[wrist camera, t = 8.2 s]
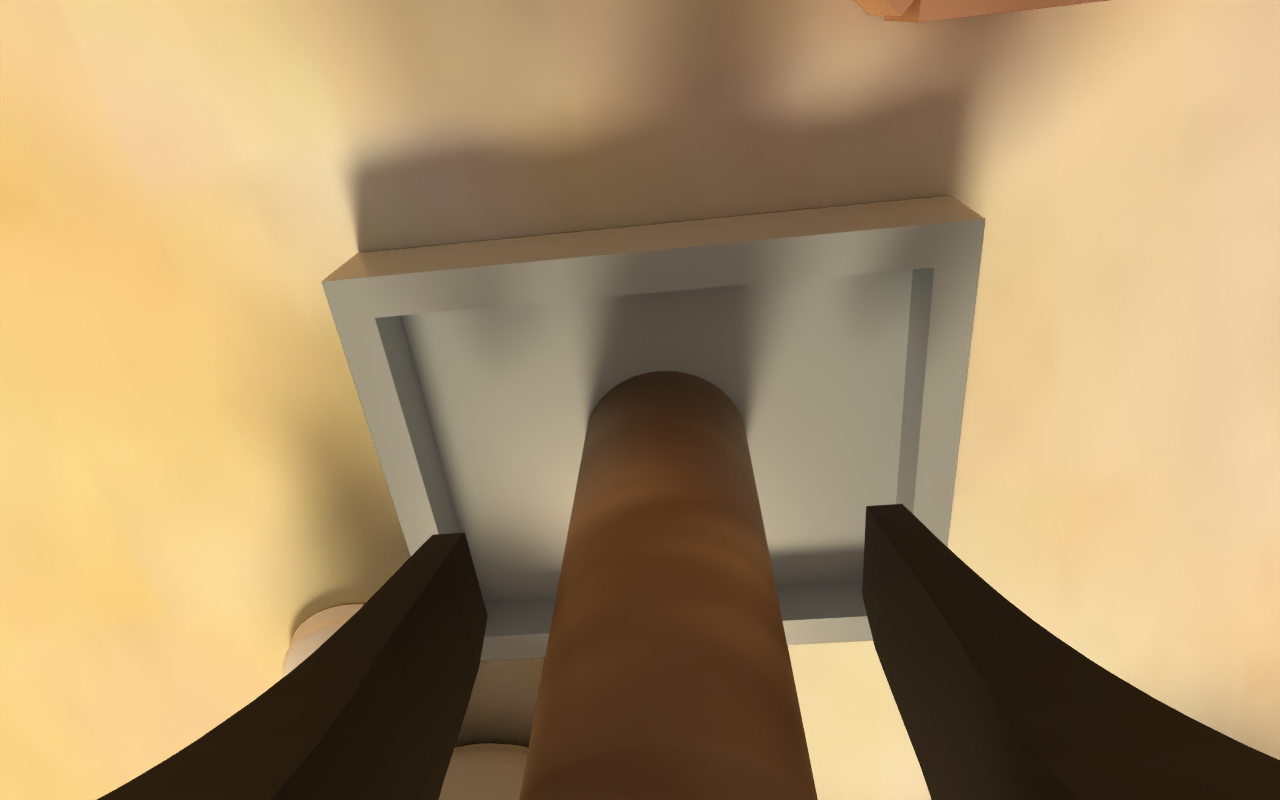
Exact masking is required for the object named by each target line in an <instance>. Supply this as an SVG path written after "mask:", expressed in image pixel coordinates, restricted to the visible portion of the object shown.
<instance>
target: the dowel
mask: <svg viewBox="0 0 1280 800" xmlns="http://www.w3.org/2000/svg"><path fill="white" fill-rule="evenodd" d="M519 800H818V799H817V794H816V789H815V784H814V779H813V774H812V769H811V764H810V759H809V753H808V748H807V743H806V738H805V733H804V728H803V723H802V718H801V713H800V707H799V702H798V697H797V692H796V687H795V682H794V677H793V672H792V667H791V661H790V656H789V651H788V646H787V641H786V636H785V631H784V626H783V621H782V615H781V610H780V605H779V600H778V595H777V590H776V585H775V580H774V575H773V569H772V564H771V559H770V554H769V549H768V544H767V539H766V534H765V529H764V523H763V518H762V513H761V508H760V503H759V498H758V493H757V488H756V483H755V477H754V472H753V467H752V462H751V457H750V452H749V447H748V442H747V437H746V431H745V426H744V423H743V420H742V417H741V415H740V413H739V411H738V409H737V407H736V406H735V404H734V403H733V402H732V400H731V399H730V398H729V397H728V396H727V395H726V394H725V393H724V392H723V391H722V390H720V389H719V388H718V387H717V386H715V385H713V384H712V383H710V382H708V381H707V380H704V379H702V378H700V377H697V376H694V375H691V374H688V373H682V372H676V371H656V372H649V373H644V374H641V375H637V376H634V377H632V378H630V379H627V380H625V381H623V382H621V383H620V384H618V385H617V386H615V387H614V388H612V389H611V390H610V391H609V392H607V393H606V394H605V396H604V397H603V398H602V399H601V400H600V401H599V402H598V404H597V405H596V407H595V408H594V410H593V412H592V414H591V416H590V419H589V422H588V425H587V430H586V436H585V441H584V447H583V452H582V458H581V463H580V469H579V474H578V480H577V485H576V491H575V496H574V501H573V507H572V512H571V518H570V523H569V529H568V534H567V540H566V545H565V551H564V556H563V562H562V567H561V573H560V578H559V584H558V589H557V594H556V600H555V605H554V611H553V616H552V622H551V627H550V633H549V638H548V644H547V649H546V655H545V660H544V666H543V671H542V677H541V682H540V688H539V693H538V698H537V704H536V709H535V715H534V720H533V726H532V731H531V737H530V742H529V748H528V753H527V759H526V764H525V770H524V775H523V781H522V786H521V792H520V797H519Z"/></svg>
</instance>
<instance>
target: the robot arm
mask: <svg viewBox="0 0 1280 800" xmlns="http://www.w3.org/2000/svg"><path fill="white" fill-rule="evenodd" d="M862 597H863V601H864V605H865V609H866V614H867V618H868V622H869V626H870V630H871V634H872V638H873V641H874V645H875V649H876V651H877V654H878V657H879V659H880V662H881V665H882V667H883V670H884V673H885V675H886V678H887V681H888V683H889V686H890V688H891V691H892V694H893V696H894V699H895V701H896V704H897V707H898V709H899V712H900V714H901V717H902V720H903V722H904V725H905V727H906V730H907V732H908V735H909V738H910V740H911V743H912V745H913V748H914V751H915V753H916V756H917V758H918V761H919V764H920V766H921V769H922V772H923V775H924V778H925V781H926V784H927V787H928V790H929V793H930V796H931V800H1280V760H1278V759H1276V758H1273V757H1271V756H1269V755H1266V754H1264V753H1262V752H1260V751H1257V750H1255V749H1253V748H1251V747H1248V746H1246V745H1244V744H1242V743H1240V742H1238V741H1236V740H1234V739H1232V738H1230V737H1228V736H1226V735H1224V734H1222V733H1220V732H1218V731H1216V730H1214V729H1212V728H1210V727H1208V726H1206V725H1204V724H1202V723H1200V722H1198V721H1196V720H1194V719H1192V718H1190V717H1188V716H1186V715H1184V714H1182V713H1181V712H1179V711H1177V710H1175V709H1173V708H1171V707H1169V706H1168V705H1166V704H1164V703H1162V702H1160V701H1158V700H1156V699H1155V698H1153V697H1151V696H1149V695H1148V694H1146V693H1144V692H1143V691H1141V690H1139V689H1138V688H1136V687H1134V686H1132V685H1131V684H1129V683H1127V682H1126V681H1124V680H1122V679H1120V678H1119V677H1117V676H1115V675H1114V674H1112V673H1110V672H1109V671H1107V670H1106V669H1104V668H1102V667H1101V666H1099V665H1098V664H1096V663H1094V662H1093V661H1091V660H1090V659H1088V658H1087V657H1085V656H1084V655H1082V654H1081V653H1079V652H1078V651H1076V650H1075V649H1073V648H1072V647H1070V646H1069V645H1067V644H1066V643H1065V642H1063V641H1062V640H1060V639H1059V638H1057V637H1056V636H1054V635H1053V634H1051V633H1050V632H1048V631H1047V630H1046V629H1044V628H1043V627H1042V626H1040V625H1039V624H1037V623H1036V622H1035V621H1033V620H1032V619H1031V618H1030V617H1028V616H1027V615H1026V614H1024V613H1023V612H1022V611H1021V610H1019V609H1018V608H1017V607H1016V606H1014V605H1013V604H1012V603H1010V602H1009V601H1008V600H1007V599H1005V598H1004V597H1003V596H1002V595H1001V594H999V593H998V592H997V591H996V590H995V589H993V588H992V587H991V586H990V585H989V584H988V583H987V582H985V581H984V580H983V579H982V578H981V577H980V576H979V575H977V574H976V573H975V572H974V571H973V570H972V569H971V568H970V567H968V566H967V565H966V564H965V563H964V562H963V561H962V560H961V559H960V558H958V557H957V556H956V555H955V554H954V553H953V552H952V551H951V550H950V549H949V548H948V547H947V546H946V545H945V544H944V543H942V542H941V541H940V540H939V539H938V538H937V537H936V536H935V535H934V534H933V533H932V532H931V531H930V530H929V529H928V528H927V527H926V526H925V525H924V524H923V523H922V522H921V521H920V520H919V519H918V518H917V517H916V516H915V515H914V514H913V513H912V512H910V511H909V510H908V509H907V508H906V507H905V506H904V505H903V504H890V505H875V506H866V521H865V542H864V563H863V584H862ZM487 617H488V615H487V611H486V608H485V604H484V600H483V597H482V593H481V589H480V586H479V582H478V578H477V575H476V571H475V568H474V564H473V560H472V557H471V553H470V549H469V546H468V542H467V538H466V535H465V533H450V534H435V535H432V536H431V537H430V538H429V539H428V540H427V541H426V542H425V543H424V544H423V545H422V546H421V547H420V548H419V549H418V550H417V551H416V552H415V553H414V554H413V555H412V556H411V557H410V558H409V559H408V560H407V561H406V562H405V563H404V564H403V565H402V566H401V568H400V569H399V570H398V571H397V572H396V573H395V574H394V575H393V576H392V577H391V578H390V579H389V580H388V581H387V582H386V583H385V584H384V585H383V586H382V587H381V588H380V589H379V590H378V591H377V592H376V593H375V594H374V595H373V596H372V597H371V598H370V599H369V600H368V601H367V602H366V603H365V604H364V605H363V606H362V607H361V608H360V609H359V610H358V611H357V612H356V613H355V614H354V615H353V616H352V617H351V618H350V619H349V620H348V621H347V622H346V623H345V624H344V625H342V626H341V627H340V628H339V629H338V630H337V631H336V632H335V633H334V634H333V635H332V636H331V637H330V638H328V639H327V640H326V641H325V642H324V643H323V644H322V645H321V646H320V647H319V648H318V649H317V650H316V651H314V652H313V653H312V654H311V655H310V656H309V657H308V658H306V659H305V660H304V661H303V662H302V663H300V664H299V665H298V666H297V667H296V668H294V669H293V670H292V671H291V672H290V673H288V674H287V675H286V676H285V677H283V678H282V679H281V680H280V681H278V682H277V683H276V684H275V685H273V686H272V687H271V688H269V689H268V690H267V691H266V692H264V693H263V694H262V695H260V696H259V697H258V698H257V699H255V700H254V701H253V702H251V703H250V704H248V705H247V706H245V707H244V708H243V709H241V710H240V711H238V712H237V713H235V714H234V715H233V716H231V717H230V718H228V719H227V720H225V721H224V722H223V723H221V724H220V725H218V726H217V727H215V728H214V729H213V730H211V731H210V732H208V733H207V734H205V735H204V736H203V737H201V738H200V739H198V740H197V741H195V742H193V743H192V744H190V745H189V746H187V747H186V748H184V749H182V750H181V751H179V752H178V753H176V754H175V755H173V756H171V757H170V758H168V759H167V760H165V761H163V762H162V763H160V764H158V765H157V766H155V767H153V768H152V769H150V770H148V771H147V772H145V773H143V774H142V775H140V776H138V777H137V778H135V779H133V780H131V781H130V782H128V783H126V784H124V785H123V786H121V787H119V788H117V789H116V790H114V791H112V792H110V793H108V794H106V795H105V796H103V797H101V798H99V799H97V800H439V797H440V793H441V789H442V786H443V782H444V779H445V776H446V773H447V770H448V766H449V763H450V760H451V757H452V754H453V750H454V747H455V744H456V741H457V738H458V734H459V731H460V728H461V725H462V722H463V718H464V715H465V712H466V709H467V706H468V702H469V699H470V696H471V692H472V689H473V686H474V683H475V679H476V676H477V672H478V669H479V664H480V659H481V654H482V648H483V643H484V636H485V630H486V624H487Z"/></svg>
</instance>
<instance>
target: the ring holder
mask: <svg viewBox="0 0 1280 800" xmlns="http://www.w3.org/2000/svg"><path fill="white" fill-rule="evenodd" d="M855 1H856V2H857V3H858V4H859V5H860V6H861V7H862V9H863V10H864V11H865V12H866V13H867V14H868V15H885V20H887V21H905V22H926V21H935V20H944V19H952V18H961V17H969V16H978V15H987V14H995V13H1004V12H1013V11H1021V10H1030V9H1039V8H1047V7H1056V6H1065V5H1073V4H1082V3H1091V2H1099V1H1108V0H855Z"/></svg>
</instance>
